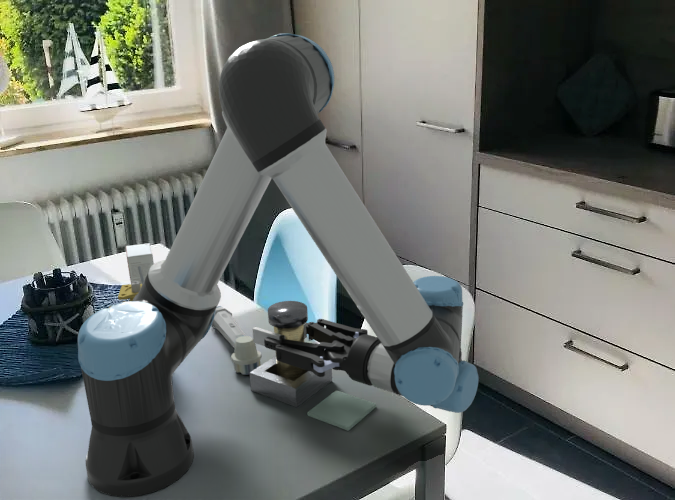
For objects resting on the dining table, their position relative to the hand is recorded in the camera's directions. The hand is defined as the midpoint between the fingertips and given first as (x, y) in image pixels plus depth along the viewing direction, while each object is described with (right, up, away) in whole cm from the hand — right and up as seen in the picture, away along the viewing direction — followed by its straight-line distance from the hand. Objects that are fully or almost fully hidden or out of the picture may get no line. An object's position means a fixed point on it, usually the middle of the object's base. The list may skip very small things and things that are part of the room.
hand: (265, 328), depth 125 cm
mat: (+13, -12, -8) cm, 20 cm away
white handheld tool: (-8, -6, +15) cm, 18 cm away
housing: (+5, -10, 0) cm, 11 cm away
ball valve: (-28, -2, +27) cm, 39 cm away
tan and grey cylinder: (+5, -9, 0) cm, 10 cm away
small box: (-32, +4, +43) cm, 54 cm away
